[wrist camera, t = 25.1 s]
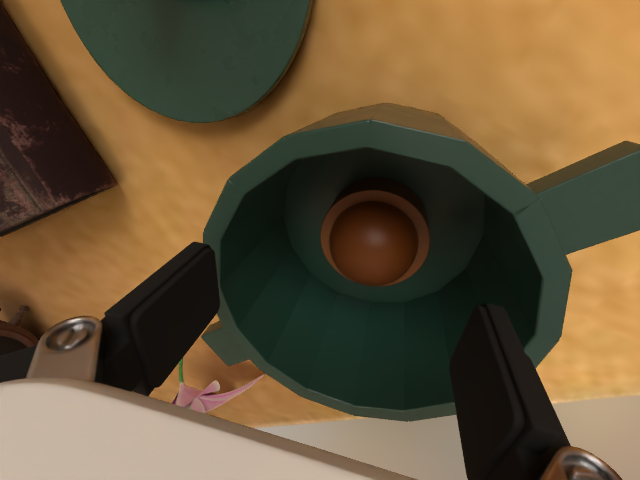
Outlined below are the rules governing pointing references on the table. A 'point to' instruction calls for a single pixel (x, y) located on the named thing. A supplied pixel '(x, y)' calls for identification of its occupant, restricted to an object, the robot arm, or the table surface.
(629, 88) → the table surface
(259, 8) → the pot lid
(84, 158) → the diary
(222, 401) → the lily
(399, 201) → the brown domed piece
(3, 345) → the alarm clock
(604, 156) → the pot
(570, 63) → the table surface
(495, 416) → the robot arm
